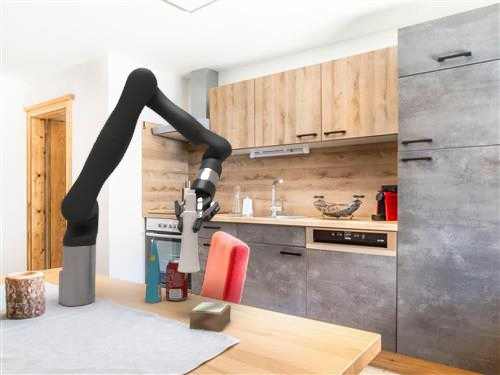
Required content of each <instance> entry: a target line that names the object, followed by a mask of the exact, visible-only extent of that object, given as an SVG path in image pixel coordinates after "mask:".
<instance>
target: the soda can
mask: <svg viewBox="0 0 500 375" xmlns="http://www.w3.org/2000/svg"><path fill="white" fill-rule="evenodd" d="M179 259H180V258H175V259H169V260H168V261H167V262H168V263H167V265H166V268H165V271H166V272H165V299H167V300H168V301H171V302H182V301H184V300H186V299H187V298H188V296H189V293H188V292H189V289H188V288H189V287H188V286H189V273H183V272H179V271H178V265H179Z"/></svg>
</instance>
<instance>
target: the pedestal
mask: <svg viewBox="0 0 500 375" xmlns="http://www.w3.org/2000/svg"><path fill="white" fill-rule="evenodd" d="M231 310H232V308H231V304H229V303H222V302H207V301H201V302H200V303H199V304H198V305H197V306H195V307H194V308H193V309H192V310H190V311H189V329H190V330H191V329H193V330H201V329H204V330H203V331H212V332H213V331H214V332H222V331H223V330H224V329H225V327H226V326H227V325H228V324H229V323H230V322H231Z"/></svg>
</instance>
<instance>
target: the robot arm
mask: <svg viewBox="0 0 500 375" xmlns="http://www.w3.org/2000/svg"><path fill="white" fill-rule="evenodd" d="M158 85H159V84H158V79H157V77H156V75H155V73H154V72H153V71H152V70H151V69H149V68H146V67H138V68H136V69H135V68H134V69H133V70H132V71H131V72H130V73H129V74H128V76H127V78H126V81H125V84H124V86H123V89H122V91H121V94H120V96H119V98H118V100H117V103H116V105H115V106H114V108H113V110H112V111H111V113H110V115H109V116H108V118H107V119H106V121H105V123H104V124H103V126H102V129H101V130H100V131H99V134H98V135H97V137H96V140H95V141H94V143H93V145H92V148H91V149H90V152H89V153H88V156H87V157H86V159H85V162H84V164H83V166H82V168H81V171H80V173H79V174H78V176H77V178H76V180H75V181H74V182H73V184H72V186H71V187H70V189H69V190H68V192H67V193H66V194H65V196H64V197H63V199H62V201H61V203H60V214H61V216H62V217H63V219H64V220H66V229H65V233H64V234H63V237H62V260H61V262H62V263H61V264H62V265H61V266H62V267H61V270H59V272H58V301H57V302H58V304H61V305H63V306H67V307H77V306H84V305H89V304H91V303H94V302H95V301H96V272H97V271H96V270H97V268H96V266H97V263H96V262H97V237H98V234H99V223H100V222H99V220H100V217H99V216H100V205H99V201H98V198H99V194H100V192H101V190H102V188H103V186H104V185H105V183H106V181H107V180H108V178H110V176H111V175H112V174H113V172H114V171H115V170H116V169H117V167H118V166H119V165H120V163H121V162H122V160H123V159H124V156H125V154H126V153H127V150H128V148H129V147H130V145H131V142H132V140H133V137H134V134H135V131H136V127H137V124H138V121H139V117H140V116H141V114H142V112H143V110H144V108H145V107H147V108H148V109H149V110H151V111H153V112H154V113H155V114H157V115H158V116H159V117H161V118H162V120H164V121H165V122H167V123H168V124H169V125H170V127H172V128H173V129H174V130H175V131H176V132H177V133H179V135H181V136H182V137H183V138H184V139H186V141H187V142H189V143H190V144H191V145H192V146H194V147H200V146H201V145H202V144H203V145H206V146H207V145H208V147H207V148H206V149H205V150H204V151H203V154H202V155H201V156H202V157H201V160H200V166H199V168H198V171H197V173H196V174H195V175H194V178H193V180H192V182H191V185H190V187H189V190H195V194H196V211H197V218H196V220H195V222H194V225H193V227H192V230H193V232H194V233H197V231H198V232H200V231H201V228H202V224H203V223H205V222H207V223H210V222H211V220H212V219H213V218H214V217H215V216H216V215H217V214H218V212H219V211H220V210H221V207H220V203H219V201H214V198H215V195H216V192H217V190H218V187H219V184H220V182H219V181H220V179H221V175H222V172H223V165H222V164H223V163H224V162H225V161H226V160H227V159H228V158H229V157H230V156H231V155H232V153H233V146H232V144H231V143H230V142H229V141H228V139H226V138H225V137H223V136H221V135H220V134H217V133H215V132H214V131H212V130H210V129H208V128H206V127H205V126H204V125H203V124H202V123H201V122H199V120H197V119H196V118H195V117H194V116H193V115H192V114H191V113H189V112H188V111H186V110H184V109H182V108H181V107H180V106H178V105H177V104H176V103H174V102H173V101H172V100H171V99H169V98H168V97H167V95H165V93H164V92H163V91H162V90H161V89H160V87H159V86H158ZM185 202H186V198H184V199H183V201H179V200H175V201H174V202H173V203H174V215H175V217H176V220H177V221H178V223H177V225H176V227H177V230H178V232H179V233H182V230H183V214H184V211H185ZM182 210H183V211H182Z"/></svg>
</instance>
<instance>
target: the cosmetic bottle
mask: <svg viewBox="0 0 500 375" xmlns="http://www.w3.org/2000/svg"><path fill="white" fill-rule="evenodd" d="M185 199H186V202H185V205H184V208H185V211H184V210H183V211H184V214H183V230H182V232H181V240H180V241H181V244H180V252H179V253H180V254H179V258H178V259H179V265H178V271H179V272H183V273H188V274H191V273H199V272H200V270H201V267H200V266H201V265H200V260H199V259H200V258H199V240H198V234H199V231H197V233H194V232H193V230H192V227H193V225H194V222H195V220H196V218H198V217H197V215H198V214H197V211H196V194H195V190H190V189H186V193H185Z"/></svg>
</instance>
